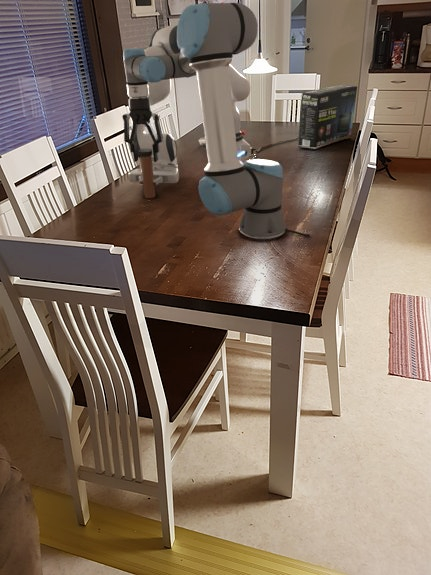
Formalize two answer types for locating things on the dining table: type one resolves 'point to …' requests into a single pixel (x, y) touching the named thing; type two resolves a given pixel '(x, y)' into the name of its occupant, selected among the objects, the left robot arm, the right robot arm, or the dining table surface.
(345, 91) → the router box
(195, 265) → the dining table surface
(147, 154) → the lid
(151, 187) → the jar
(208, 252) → the dining table surface
